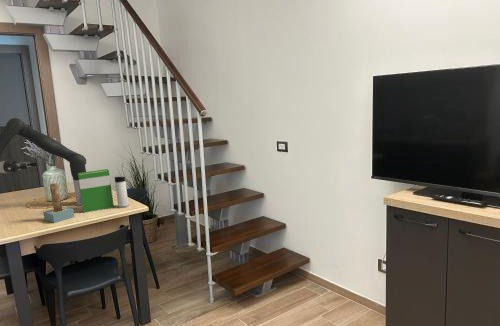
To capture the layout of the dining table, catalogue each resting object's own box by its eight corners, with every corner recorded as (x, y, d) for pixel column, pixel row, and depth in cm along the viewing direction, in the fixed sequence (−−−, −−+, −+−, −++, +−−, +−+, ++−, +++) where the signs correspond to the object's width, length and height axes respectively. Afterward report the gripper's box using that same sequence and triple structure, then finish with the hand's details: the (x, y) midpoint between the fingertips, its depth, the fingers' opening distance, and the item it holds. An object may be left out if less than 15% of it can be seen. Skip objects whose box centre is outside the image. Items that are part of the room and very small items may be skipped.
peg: (61, 215, 225) (55, 183, 221) (64, 216, 222) (59, 183, 218) (53, 217, 221) (48, 184, 218) (57, 218, 219) (51, 185, 215)
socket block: (64, 214, 230) (63, 206, 229) (74, 216, 223) (73, 208, 222) (44, 219, 221) (43, 211, 220) (54, 223, 213) (52, 214, 213)
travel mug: (115, 208, 236) (111, 177, 232) (122, 204, 242) (118, 174, 238) (123, 208, 234) (119, 177, 230) (130, 205, 240) (126, 175, 236)
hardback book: (84, 212, 230) (78, 175, 226) (83, 209, 237) (77, 173, 232) (113, 207, 238) (108, 170, 233) (112, 204, 244) (107, 168, 240)
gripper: (-4, 162, 217) (22, 161, 214) (15, 158, 231) (38, 157, 228) (-1, 175, 218) (24, 174, 216) (17, 170, 232) (40, 169, 230)
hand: (31, 165), depth 222 cm, fingers open, 8 cm apart
